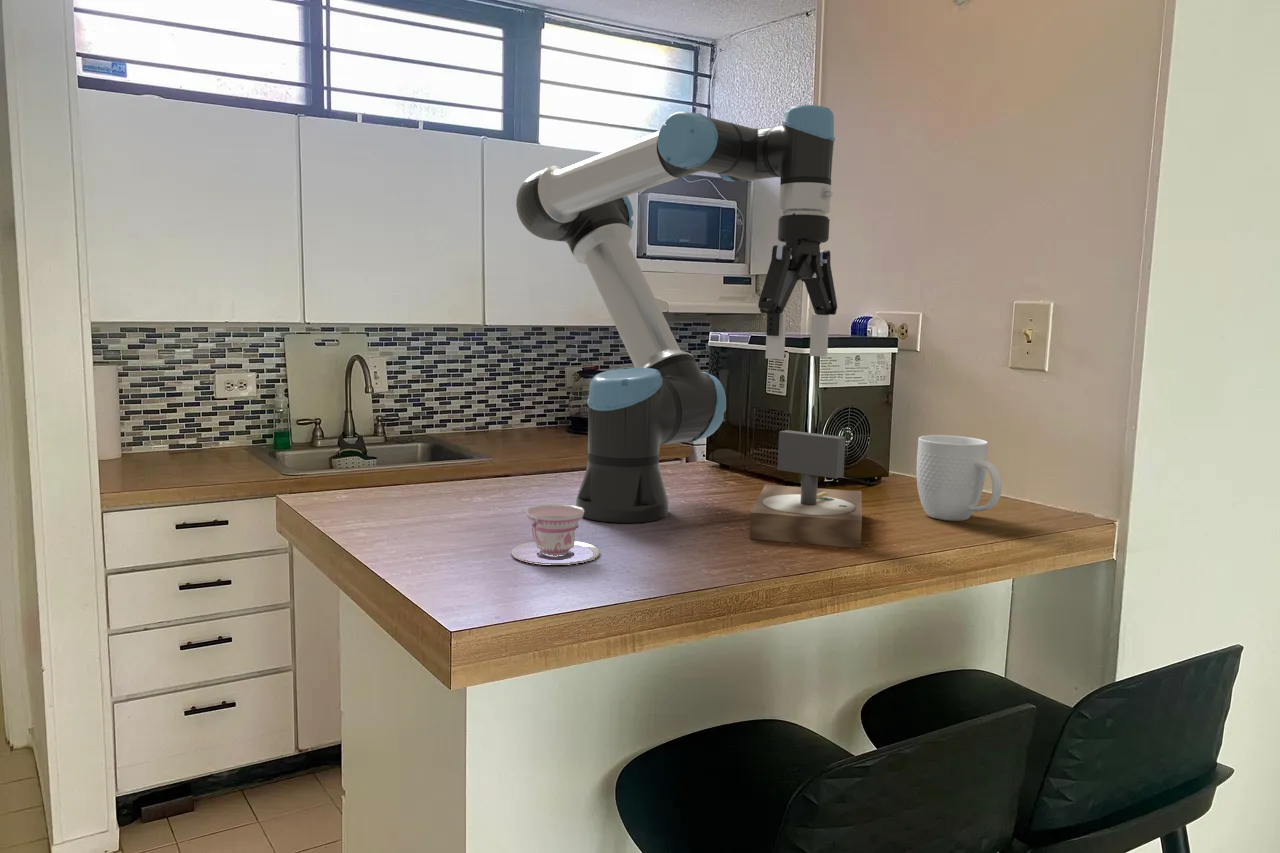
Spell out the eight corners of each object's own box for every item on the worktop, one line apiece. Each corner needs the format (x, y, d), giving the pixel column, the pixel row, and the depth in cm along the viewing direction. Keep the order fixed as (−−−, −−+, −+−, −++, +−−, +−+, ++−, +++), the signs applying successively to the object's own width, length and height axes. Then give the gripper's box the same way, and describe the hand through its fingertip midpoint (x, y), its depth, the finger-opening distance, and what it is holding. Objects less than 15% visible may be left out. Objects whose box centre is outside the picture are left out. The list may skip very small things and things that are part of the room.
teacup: (545, 539, 131) (546, 497, 130) (616, 552, 125) (617, 508, 124) (492, 558, 121) (492, 513, 120) (566, 573, 115) (567, 526, 114)
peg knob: (834, 509, 135) (838, 438, 134) (776, 499, 141) (779, 431, 140) (854, 502, 140) (858, 434, 139) (797, 493, 146) (800, 427, 145)
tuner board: (749, 538, 134) (750, 510, 133) (764, 507, 155) (765, 482, 154) (860, 548, 130) (862, 518, 129) (860, 514, 151) (861, 489, 151)
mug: (1017, 524, 147) (1023, 445, 145) (974, 532, 141) (980, 449, 139) (941, 506, 159) (946, 433, 157) (899, 513, 153) (904, 437, 151)
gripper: (784, 205, 123) (777, 361, 126) (863, 221, 143) (855, 356, 145) (737, 208, 128) (732, 358, 131) (820, 223, 147) (813, 354, 150)
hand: (797, 357), depth 138 cm, fingers open, 13 cm apart
